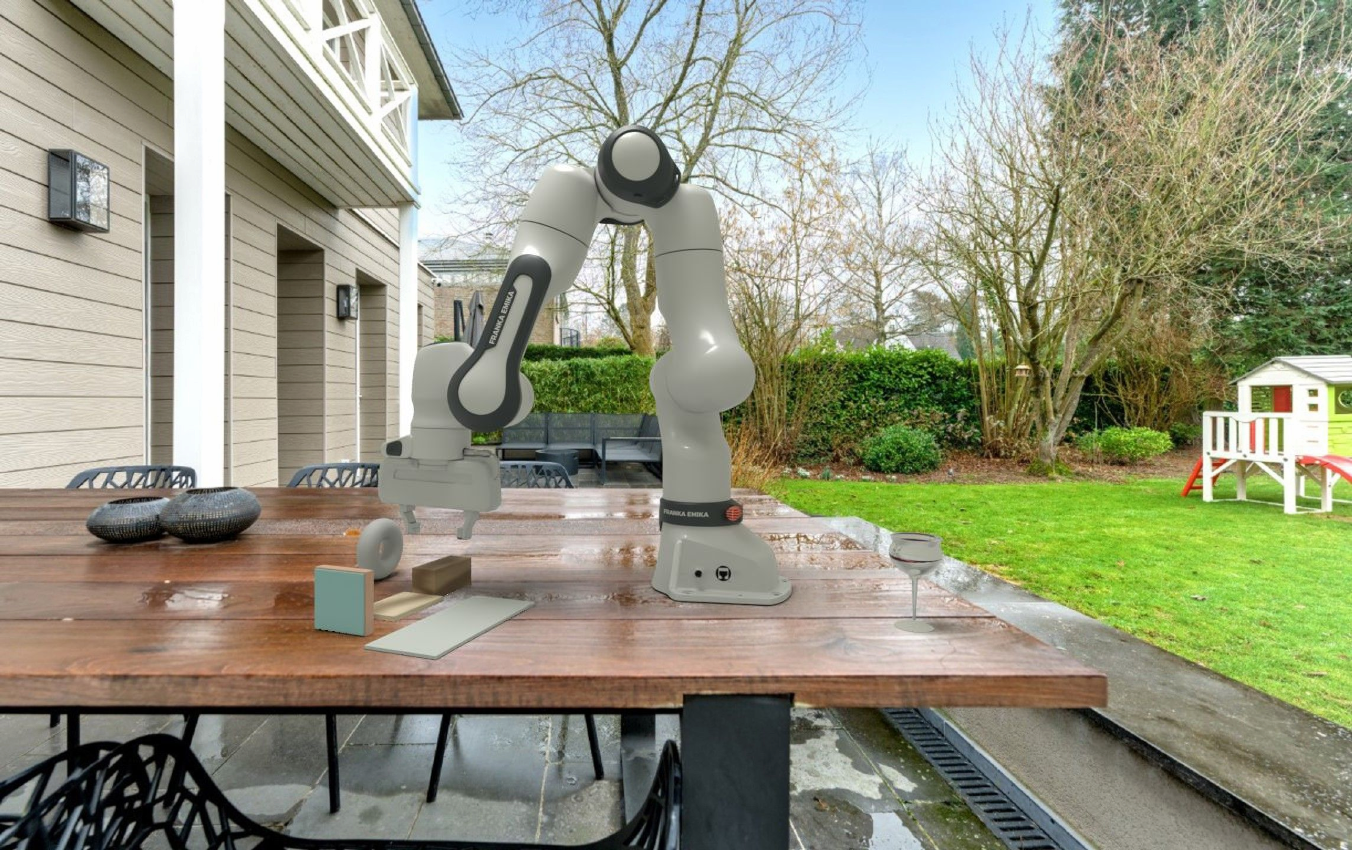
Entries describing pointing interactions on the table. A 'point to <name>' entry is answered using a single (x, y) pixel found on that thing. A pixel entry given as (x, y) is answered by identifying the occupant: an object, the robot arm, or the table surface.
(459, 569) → the stepped slab stack
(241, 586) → the table surface
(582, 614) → the table surface
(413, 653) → the mat
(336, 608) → the tile
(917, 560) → the wineglass
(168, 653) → the table surface
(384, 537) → the donut
